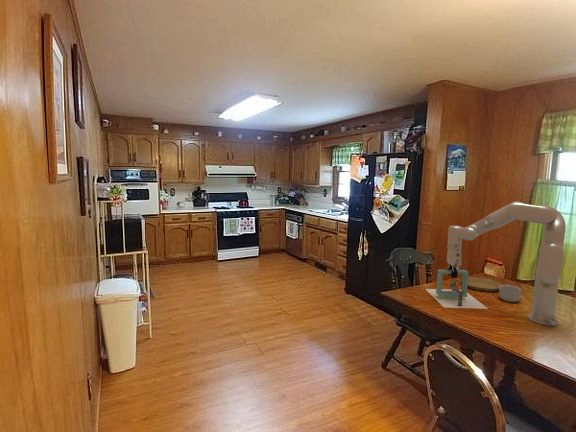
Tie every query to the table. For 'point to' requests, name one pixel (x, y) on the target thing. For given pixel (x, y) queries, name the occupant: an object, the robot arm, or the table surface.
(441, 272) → the teal rectangular frame
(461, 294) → the dark hinged linkage
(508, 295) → the teacup
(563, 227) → the robot arm
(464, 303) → the base board
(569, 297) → the table surface
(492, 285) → the plant saucer
